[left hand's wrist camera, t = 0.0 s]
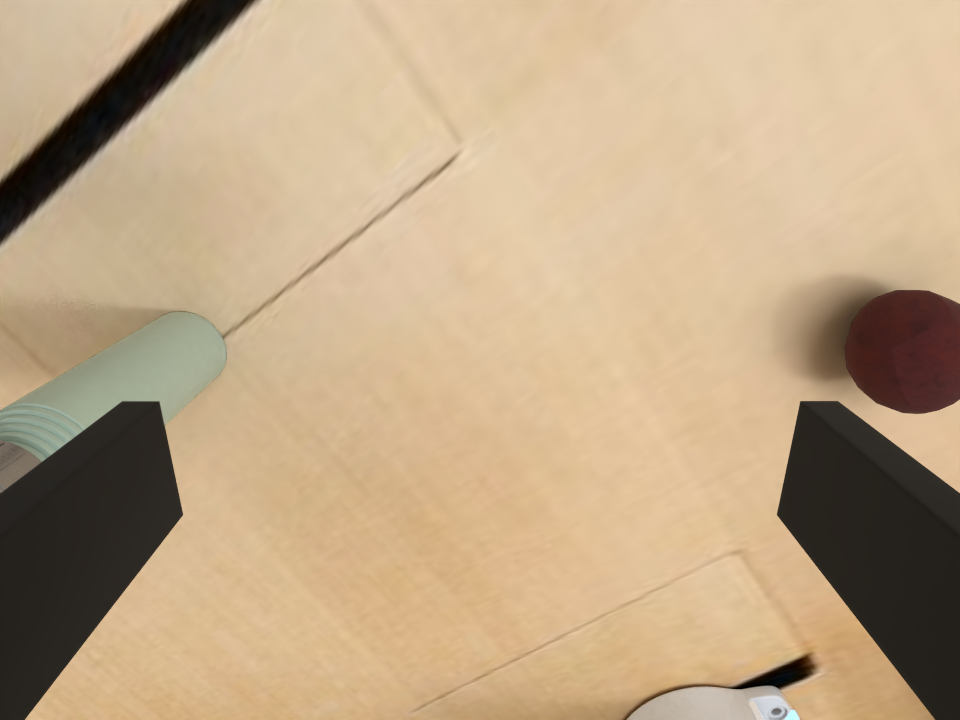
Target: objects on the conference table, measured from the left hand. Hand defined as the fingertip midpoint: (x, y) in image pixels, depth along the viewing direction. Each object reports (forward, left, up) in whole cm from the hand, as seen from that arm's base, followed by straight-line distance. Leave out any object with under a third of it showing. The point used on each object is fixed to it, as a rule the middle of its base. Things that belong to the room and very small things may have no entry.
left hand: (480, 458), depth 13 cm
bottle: (+8, -20, -28) cm, 35 cm away
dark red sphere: (+6, +27, -28) cm, 39 cm away
